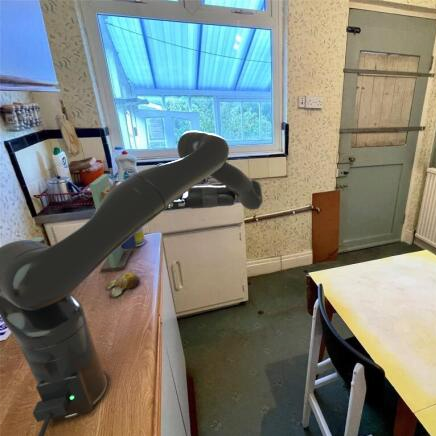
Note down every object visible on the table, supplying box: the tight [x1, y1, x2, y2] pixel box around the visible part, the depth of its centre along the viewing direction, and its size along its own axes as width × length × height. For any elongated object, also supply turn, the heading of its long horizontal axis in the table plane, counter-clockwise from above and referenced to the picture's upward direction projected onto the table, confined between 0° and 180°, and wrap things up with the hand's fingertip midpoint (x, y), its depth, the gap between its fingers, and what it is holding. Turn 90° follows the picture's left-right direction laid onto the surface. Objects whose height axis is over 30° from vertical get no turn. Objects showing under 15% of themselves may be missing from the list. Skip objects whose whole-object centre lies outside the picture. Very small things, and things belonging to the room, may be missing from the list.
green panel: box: [89, 173, 132, 273], centre depth 95 cm, size 11×12×30 cm
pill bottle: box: [134, 226, 146, 248], centre depth 111 cm, size 6×6×11 cm
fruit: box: [107, 272, 140, 297], centre depth 87 cm, size 8×8×4 cm
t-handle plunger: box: [110, 181, 137, 250], centre depth 95 cm, size 8×5×22 cm, turn 15°
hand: (152, 199), depth 93 cm, fingers open, 8 cm apart
